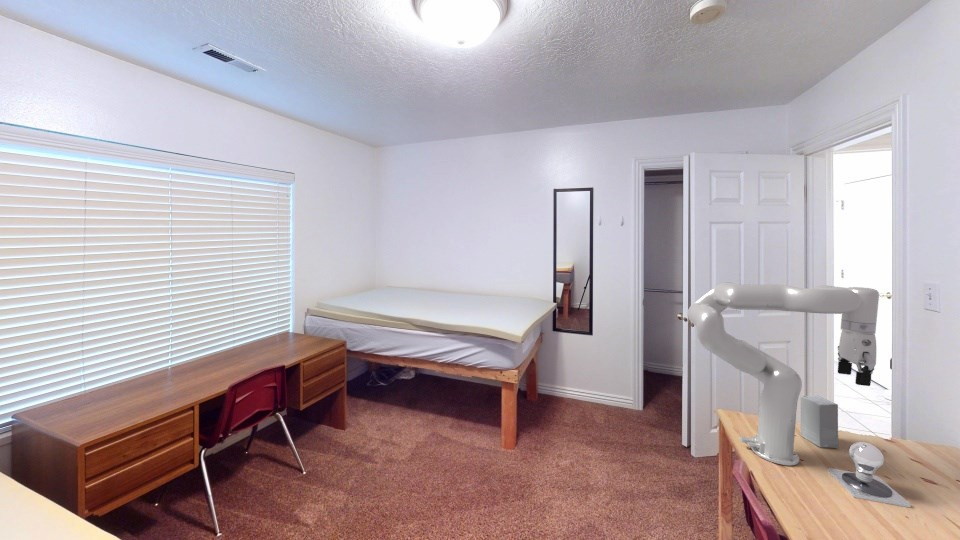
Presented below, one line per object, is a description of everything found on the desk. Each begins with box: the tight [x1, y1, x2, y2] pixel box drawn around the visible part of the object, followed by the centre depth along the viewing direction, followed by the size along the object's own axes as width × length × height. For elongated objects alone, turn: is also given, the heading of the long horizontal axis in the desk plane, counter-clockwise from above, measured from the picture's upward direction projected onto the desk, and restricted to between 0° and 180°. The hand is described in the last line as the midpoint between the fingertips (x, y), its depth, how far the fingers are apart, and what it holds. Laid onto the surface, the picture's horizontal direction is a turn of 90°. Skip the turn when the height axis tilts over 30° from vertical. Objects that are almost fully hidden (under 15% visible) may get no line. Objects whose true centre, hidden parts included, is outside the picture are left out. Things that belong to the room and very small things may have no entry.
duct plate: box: [827, 467, 912, 508], centre depth 103 cm, size 12×12×1 cm
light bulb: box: [848, 441, 885, 483], centre depth 103 cm, size 7×7×12 cm
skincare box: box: [800, 395, 839, 449], centre depth 126 cm, size 8×7×16 cm
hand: (853, 379), depth 111 cm, fingers open, 9 cm apart
